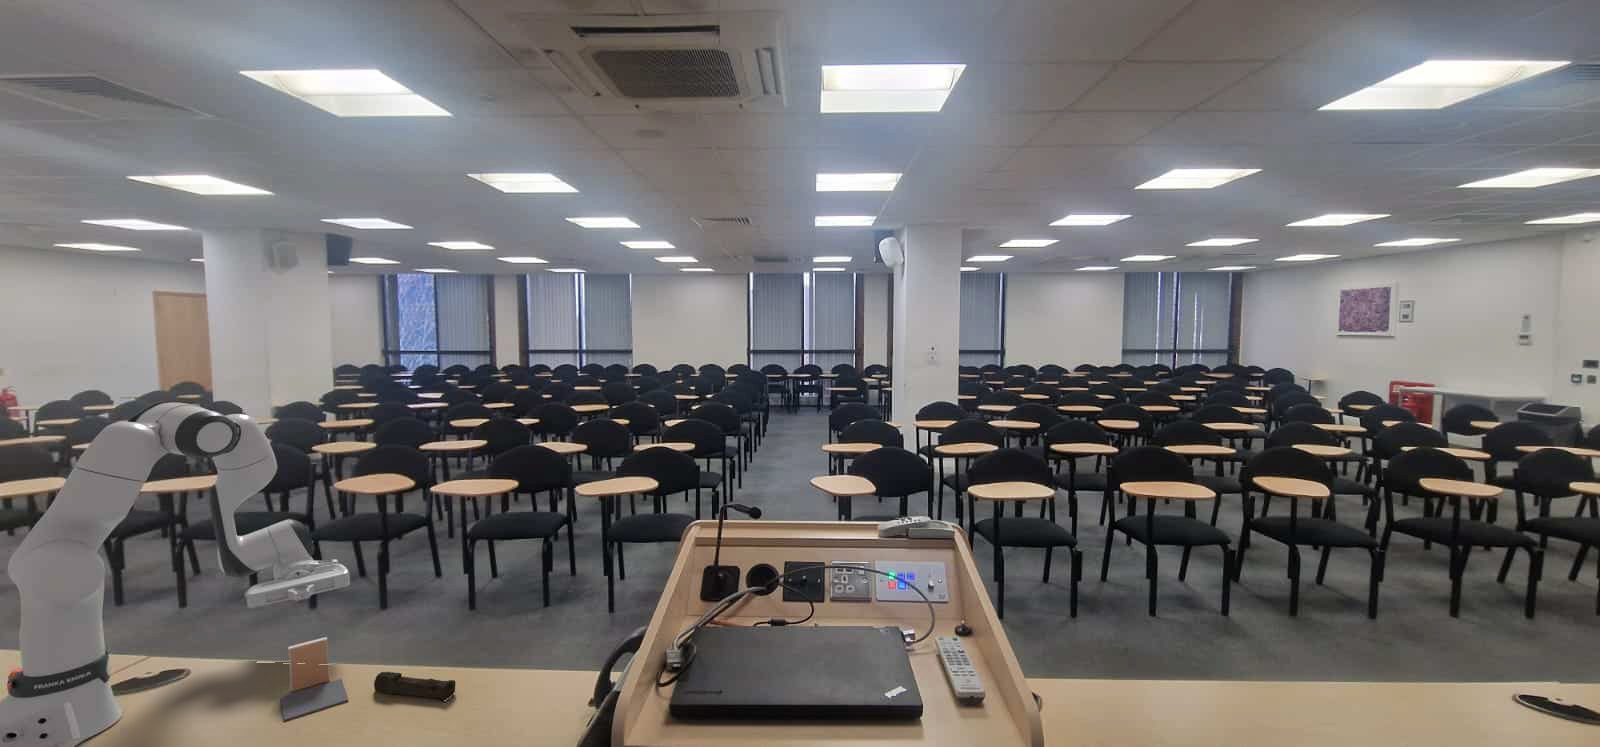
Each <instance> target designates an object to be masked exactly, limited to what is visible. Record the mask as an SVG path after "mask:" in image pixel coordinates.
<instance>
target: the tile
mask: <svg viewBox="0 0 1600 747" xmlns="http://www.w3.org/2000/svg"><path fill="white" fill-rule="evenodd" d="M328 644H329V642H328V637H327V636H325V637H321V638H317V639H314V640H309V641H306V642H302V643H298V644H293V645H290V646H288V649H287V650H288V651H287V652H288V661H289V662H288V663H289V664H288V665H289V666H288V667H289V677H290V678H289V681H290V691H294V692H296V691H295V690H297V691H299V690H298V689H300V690H303V688H304V689H307V688H311V687H315V686H318V685H322V684H325V683H328V682H331V677H330V675H331V674H330V665H319V664H330V661H329V645H328ZM297 663H305V664H297ZM310 686H311V687H310ZM306 687H307V688H306Z"/></svg>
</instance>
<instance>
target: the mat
mask: <svg viewBox="0 0 1600 747" xmlns="http://www.w3.org/2000/svg"><path fill="white" fill-rule="evenodd" d="M348 702H349V697H348V694H347V692H346V689H345V686H344V682H343V680H342V678H341V679H336V680H334V681H328V682H325V683H322V684H318V685H315V686H312V687H308V688H305V689H304V690H303V689H302V690H298V691H295V692H291V693H289V694H287V695H284V696H280V704H281V709H282V714H283V715H282V716H283V721H284V722H287V721H291V720H294V719H296V718H295V717H297V718H300V717H302V715H303V716H306V715H309V713H310V714H313V713H315V712H318V711H322V710H325V709H328V708H332V707H335V706H339V705H340V704H344V703H348ZM305 714H306V715H305ZM299 716H300V717H299ZM293 718H294V719H293ZM290 719H291V720H290Z"/></svg>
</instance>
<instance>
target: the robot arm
mask: <svg viewBox="0 0 1600 747" xmlns="http://www.w3.org/2000/svg"><path fill="white" fill-rule="evenodd" d="M169 453H170V454H175V455H180V456H184V457H185V456H186V457H189V458H193V459H207V458H208V459H209V458H212V461H213V464H214V466H215V467H216V471H217V478H216V481H215V483H214V484H213V485H212V486H210V487H209V491H208V501H209V506H210V508H209V509H210V515H211V521H212V524H213V529H214V535H215V539H216V542H217V564H218V566H219V568H220V570H221V572H222V573H223V574H224V575H225V576H226V577H230V578H236V579H245V578H247V577H248V576H251V575H253V574H255V573H257V572H259V571H260V570H262V569H265V568H268V567H270V566H273V565H274V566H273V577H274V580H270V581H265V582H261V583H257V584H254V585H252V586H250V587H249V588H248V589H247V590H245V592H244V597H245V598H246V604H247V608H248V609H256V608H261V607H265V606H269V605H274V604H277V603H282V602H286V601H290V600H294V601H295V602H299V601H301V600H307V599H310V598H311V596H313V595H315V594H319V593H325V592H329V591H332V590H337V589H341V588H345V587H348V586H350V585H351V578H350V571H349V570H348V568H347V567H346V566H345V565H343V564H341V563H339V561H338V559H335V558H334V559H325V560H314V558H313V557H312V556H313V554H314V551H315V543H314V542H313V539H312V537H311V535H310V532H309V530H308V529H307V527H306V526H305V524H304V523H302V522H300V521H298V520H296V519H292V518H289V519H285V520H281V521H279V522H277V523H274V524H271V525H269V526H266V527H264V528H261V529H258V530H255V531H253V532H250V533H247V534H245V535H244V534H243V535H238V534H237V529H236V523H235V516H234V513H235V511H236V510H237V508H238V507H239V506H240V505H242V503H244V502H245V501H247V500H248V499H249V498H250V497H252V496H254V495H256V494H257V493H258V492H260V491H262V490H263V489H264V488H265V487H267V485H269V483H270V482H271V481H272V480H273V478H274V476H275V475H276V474H277V470H278V463H277V459H276V456H275V452H274V450H273V447H272V445H271V443H270V441H269V439H268V437H267V435H266V434H265V432H264V431H263V429H262V428H261V426H260V425H259V424H258V422H257V421H256V420H255V419H254V418H253V417H252V416H250V415H247V414H244V413H232V414H227V415H224V414H222V413H220V412H217V411H215V410H209V409H206V408H203V407H202V406H199V405H196V404H191V403H183V402H179V401H177V400H163V401H160V400H159V401H156V402H152V403H150V404H147V405H146V406H144V407H142V408H141V409H140V410H138V412H136V413H135V415H134V416H132V417H131V418H129V419H128V420H127V421H120V422H119V421H118V422H114V423H111V424H109V425H107V426H105V427H104V428H103V429H102V430H100V432H99V433H98V434H97V435H96V436H95V438H94V439H93V440H92V441H91V443H89V444H88V446H87V447H86V448H85V450H84V451H83V453H82V454H81V456H80V457H79V458H78V460H77V462H76V463H75V465H74V466H73V469H72V470H71V471H70V473H69V475H68V477H67V478H66V480H65V481H64V483H63V484H62V486H61V488H60V490H59V491H58V492H57V493H58V494H57V495H56V496H55V498H54V500H53V501H52V503H51V505H50V506H49V507H48V509H46V511H45V512H44V514H43V515H42V516H41V517H40V519H39V520H38V521H37V522H36V523H35V525H34V526H33V527H32V528H31V530H30V531H29V532H28V534H27V535H26V536H25V538H23V541H22V542H21V543H20V545H19V546H18V547H17V548H16V549H15V550H14V552H13V553H12V555H11V556H10V558H9V561H8V565H7V574H8V577H9V578H10V580H11V581H12V582H13V583H14V584H15V586H16V587H17V590H18V592H19V596H20V623H19V624H20V626H19V627H20V628H19V633H18V637H19V638H18V639H19V647H20V660H21V667H17V668H14V669H12V670H11V671H10V673H9V675H8V677H7V684H6V688H7V692H8V694H7V696H5V697H4V698H2V699H1V700H0V747H76V746H77V745H78V744H80V743H82V742H83V741H85V740H87V739H89V738H91V737H93V736H95V735H97V734H100V733H101V732H103V731H105V730H107V729H108V728H109V727H111V726H113V725H114V724H115V723H117V722H118V721H119V720H120V719H121V717H122V715H123V711H122V709H121V708H120V707H119V704H118V703H117V700H116V698H115V696H114V693H113V690H112V686H111V683H110V679H111V675H112V672H111V669H112V668H111V661H110V660H111V658H110V657H109V651H108V650H106V648H105V647H106V646H105V637H104V624H103V623H104V622H103V606H104V599H105V598H104V597H105V575H106V569H105V568H106V567H105V561H104V559H103V558H102V557H101V555H100V554H99V553H98V550H99V549H100V547H101V546H102V544H103V543H104V542H105V541H106V539H107V538H108V537H109V536H110V534H111V533H112V531H113V530H114V529H115V528H116V527H117V526H118V525H119V524H120V523H121V522H122V521H124V520H125V519H126V517H127V515H128V514H129V512H130V510H131V508H132V507H133V505H134V503H135V501H136V499H137V497H138V495H139V494H140V493H141V490H142V489H143V487H144V485H145V483H146V482H147V479H148V478H149V476H150V474H151V472H152V469H153V467H154V465H156V463H157V462H159V460H160V459H161V458H162V457H164V456H166V455H167V454H169Z"/></svg>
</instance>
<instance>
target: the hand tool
mask: <svg viewBox="0 0 1600 747" xmlns="http://www.w3.org/2000/svg"><path fill="white" fill-rule="evenodd" d="M373 683H374V684H373V688H374V691H375V692H377V693H379V692H380V694H382V693H383V694H382V695H387V696H390V695H393V696H396V695H399V694H400V695H406V696H407V695H408V696H416V697H424V698H432V699H441V700H442V702H444V700H446V699H447V698H449V697H450V696H451V695H452V694H453V693H454V694H455V692H456V684H457V683H456V681H455V680H453V679H450V680H449V679H448V680H439V679H433V678H418V677H417V678H416V677H409V676H402V673H401V672H394V671H381V672H379V673H378V674H377V675H376V677H375V679H374V682H373Z"/></svg>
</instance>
